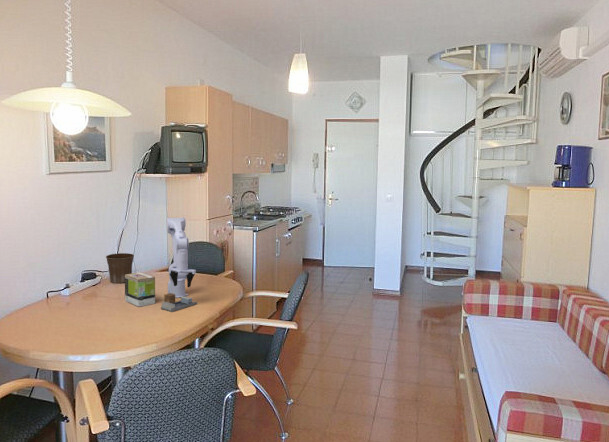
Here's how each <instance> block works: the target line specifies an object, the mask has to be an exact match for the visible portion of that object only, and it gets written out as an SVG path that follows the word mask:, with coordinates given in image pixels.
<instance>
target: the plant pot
mask: <svg viewBox="0 0 609 442" xmlns="http://www.w3.org/2000/svg"><path fill="white" fill-rule="evenodd" d="M134 257H135V255H134V254H133V253H126V252H125V253H123V252H121V253H119V252H118V253H111V254H108V255H106V256H105V259H106V264H107V267H108V272H109V273H108V274H109V282H110V283H112V284H118V285H119V284H123V283H124V284H125V275H126V274H132V273H133V262H134Z"/></svg>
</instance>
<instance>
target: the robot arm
mask: <svg viewBox="0 0 609 442" xmlns="http://www.w3.org/2000/svg"><path fill="white" fill-rule="evenodd" d="M186 221H187V220H186V218H185V217H184V216H183V217H167V219H166V230H167V233H168V234H169V235H170V237H171V240H172V241H171V242H172V243H171V244H172V258H173V263H171V264H170V265H169V267H168V278H169V280H168V282H167V294H168V293H172V294H175V299H176V298H181V296H182V297H184V296H185V297H187V296H189V293H186V281H187V288H191V286H192V281H193V279H194V277H195V275H196V274H197V270H196V269H192V268H188V267H189V265H188V263H189V258H188V257H189V255H188V253H189V252H188V251H189V247H190V243H189V242H190V241H189V238H188V237H187V236H186V232H185V230H186V224H187V223H186Z"/></svg>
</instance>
